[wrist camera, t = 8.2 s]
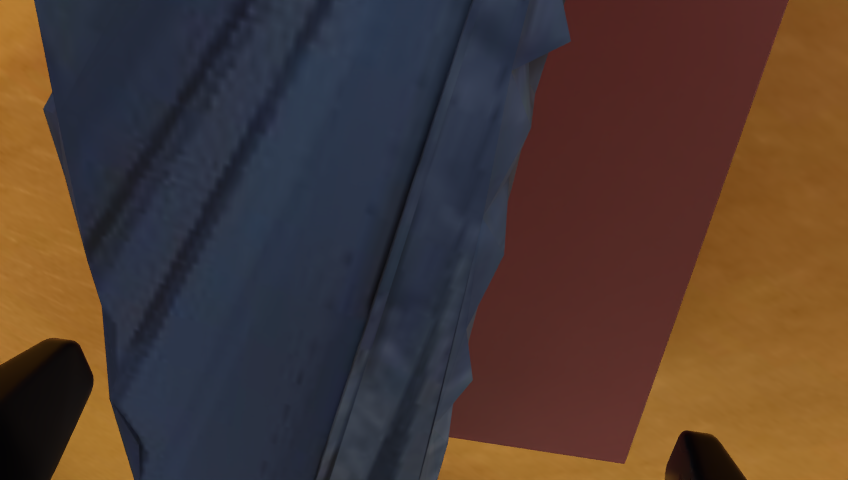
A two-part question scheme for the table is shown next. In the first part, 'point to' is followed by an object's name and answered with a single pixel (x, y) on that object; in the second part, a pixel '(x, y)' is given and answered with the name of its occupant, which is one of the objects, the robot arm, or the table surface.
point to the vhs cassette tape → (291, 217)
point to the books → (609, 218)
